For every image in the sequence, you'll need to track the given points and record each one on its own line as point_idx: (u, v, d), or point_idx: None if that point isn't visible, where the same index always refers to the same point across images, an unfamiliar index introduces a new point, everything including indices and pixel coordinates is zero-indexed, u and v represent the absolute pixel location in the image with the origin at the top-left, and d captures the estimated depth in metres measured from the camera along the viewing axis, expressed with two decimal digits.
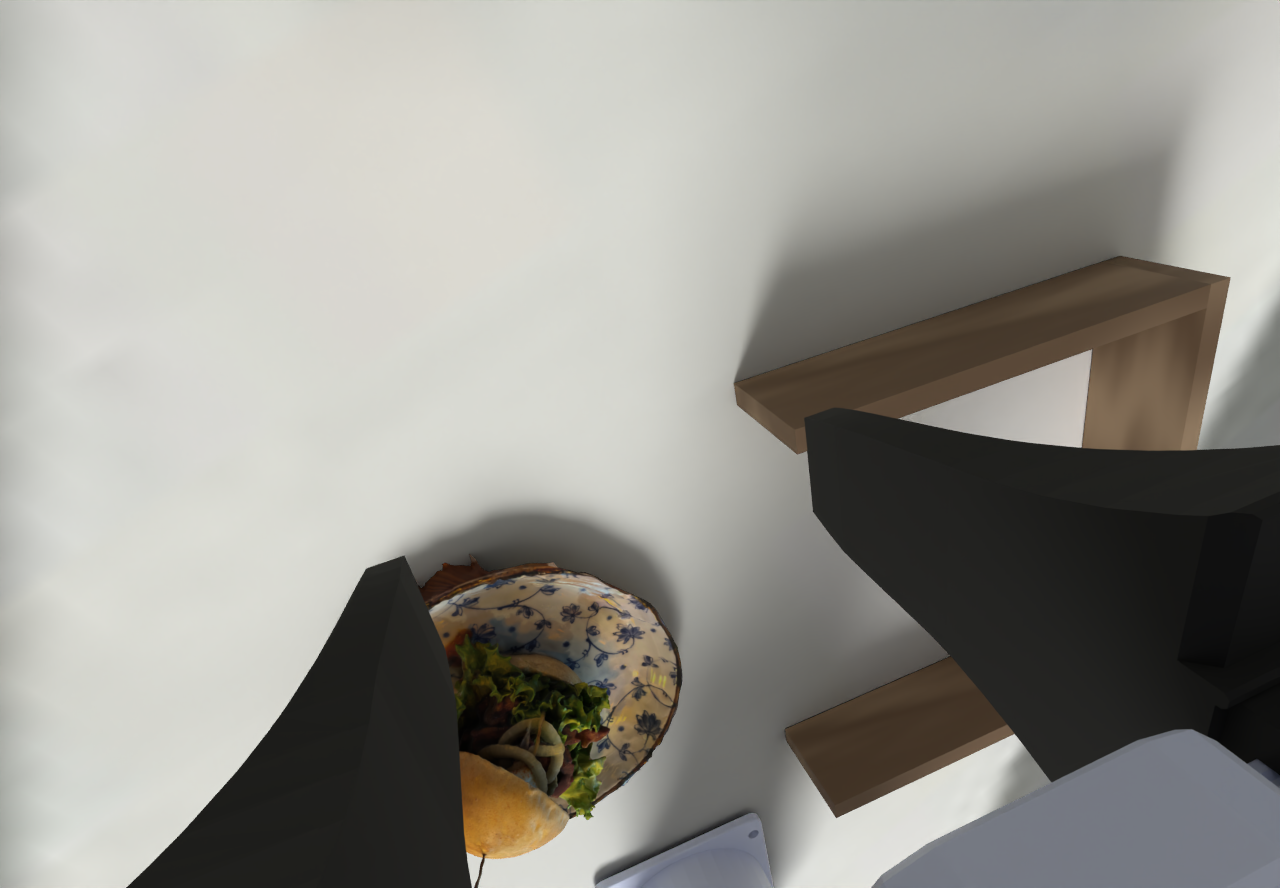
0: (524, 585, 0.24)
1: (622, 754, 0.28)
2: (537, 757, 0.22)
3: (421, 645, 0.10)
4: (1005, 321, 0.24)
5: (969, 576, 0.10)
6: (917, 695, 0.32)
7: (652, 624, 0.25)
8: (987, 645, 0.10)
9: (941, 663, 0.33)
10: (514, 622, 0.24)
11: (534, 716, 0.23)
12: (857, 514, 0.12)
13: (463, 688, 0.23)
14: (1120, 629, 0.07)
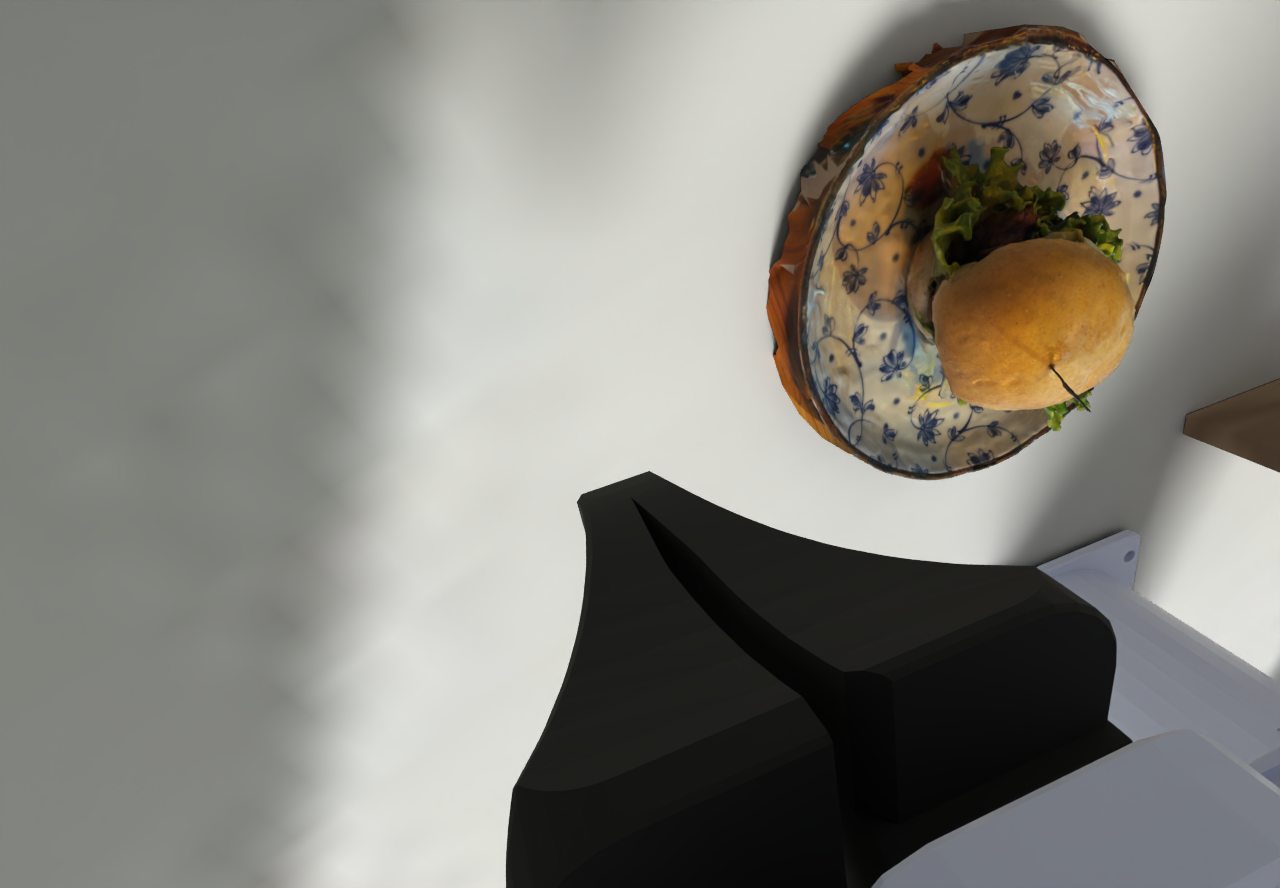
0: (1019, 91, 0.18)
1: None
2: None
3: None
4: None
5: None
6: None
7: (1142, 180, 0.20)
8: None
9: None
10: None
11: (1061, 233, 0.17)
12: None
13: (970, 195, 0.17)
14: None
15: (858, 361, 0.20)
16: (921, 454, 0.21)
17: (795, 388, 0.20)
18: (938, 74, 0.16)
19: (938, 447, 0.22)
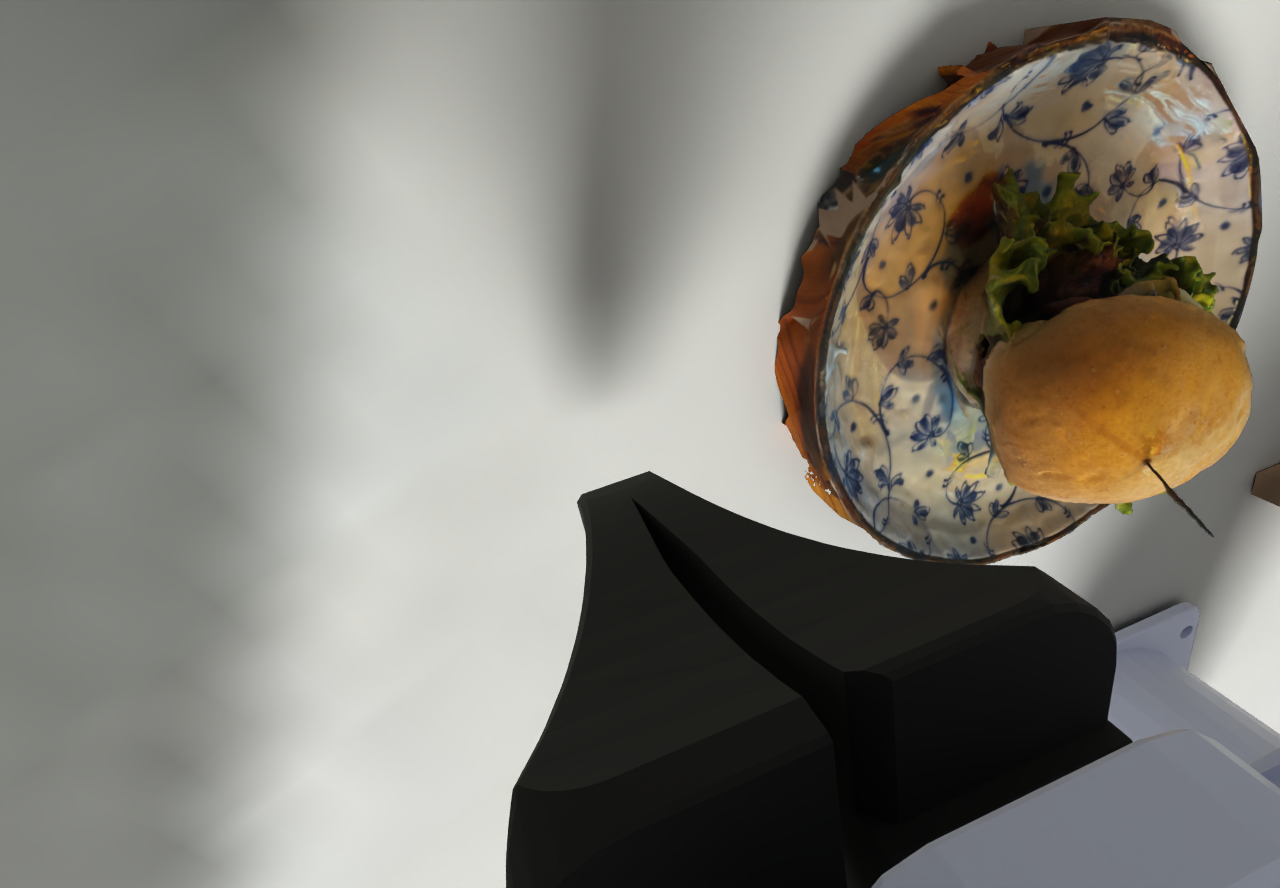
0: (1090, 101, 0.15)
1: None
2: None
3: None
4: None
5: None
6: None
7: (1233, 209, 0.16)
8: None
9: None
10: (1054, 178, 0.15)
11: (1147, 282, 0.14)
12: None
13: (1034, 233, 0.14)
14: None
15: (885, 429, 0.16)
16: (958, 535, 0.18)
17: None
18: (997, 81, 0.13)
19: (978, 525, 0.18)
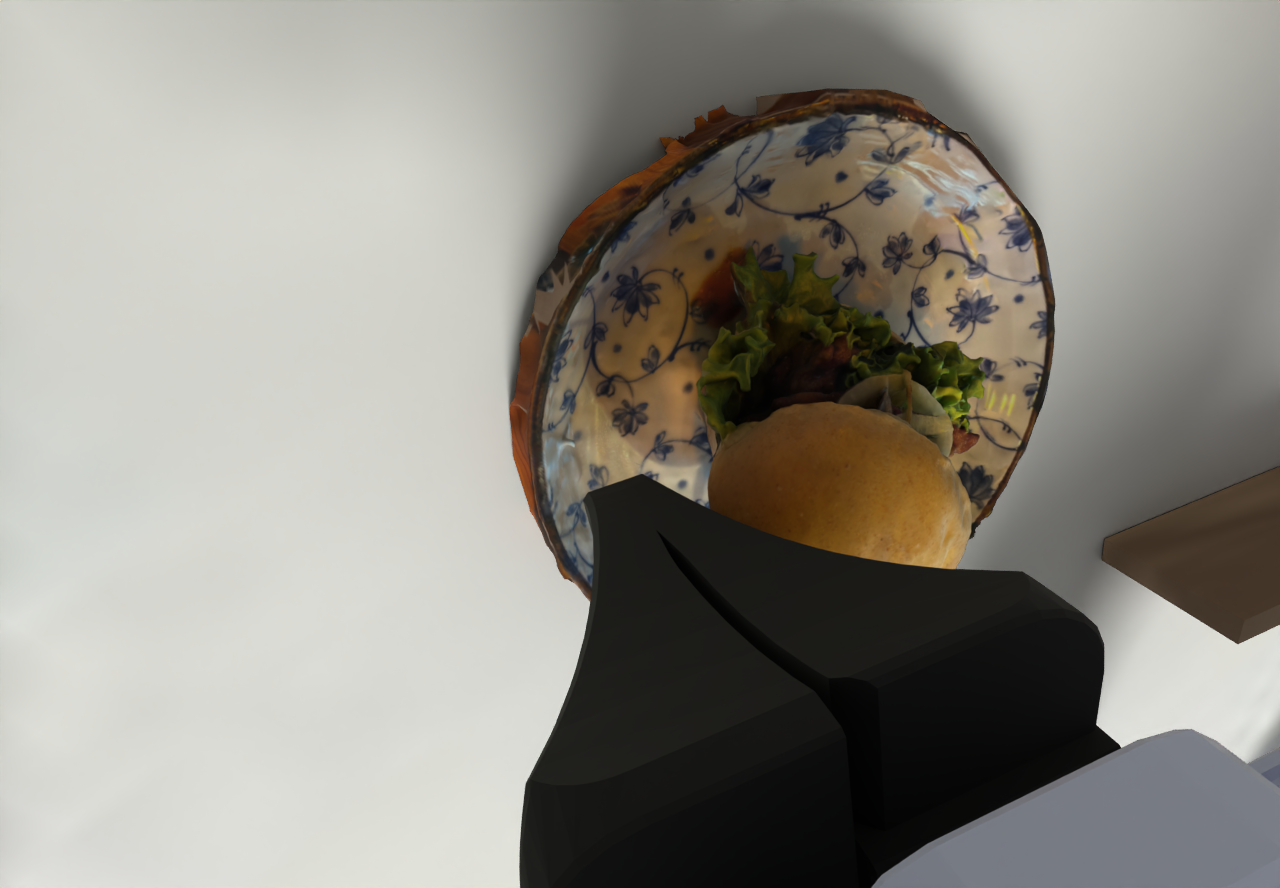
0: (844, 172, 0.14)
1: None
2: None
3: None
4: None
5: None
6: None
7: (1024, 282, 0.15)
8: None
9: None
10: (814, 252, 0.14)
11: (885, 376, 0.12)
12: None
13: (760, 321, 0.12)
14: None
15: None
16: None
17: None
18: (702, 159, 0.12)
19: None
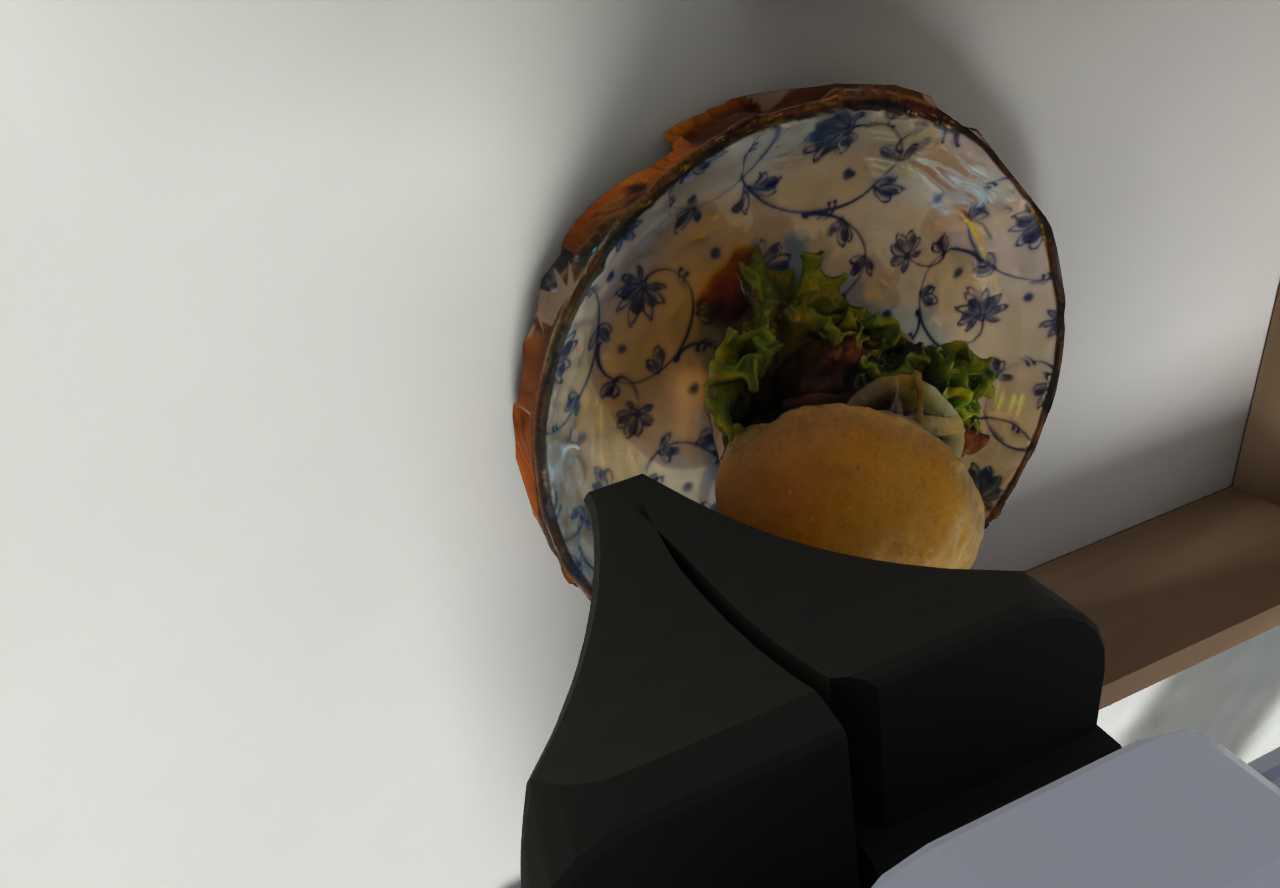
0: (852, 169, 0.13)
1: None
2: None
3: None
4: None
5: None
6: None
7: (1033, 281, 0.15)
8: None
9: (1050, 565, 0.21)
10: (822, 250, 0.14)
11: (896, 375, 0.12)
12: None
13: (768, 321, 0.12)
14: None
15: None
16: None
17: None
18: (709, 156, 0.11)
19: None
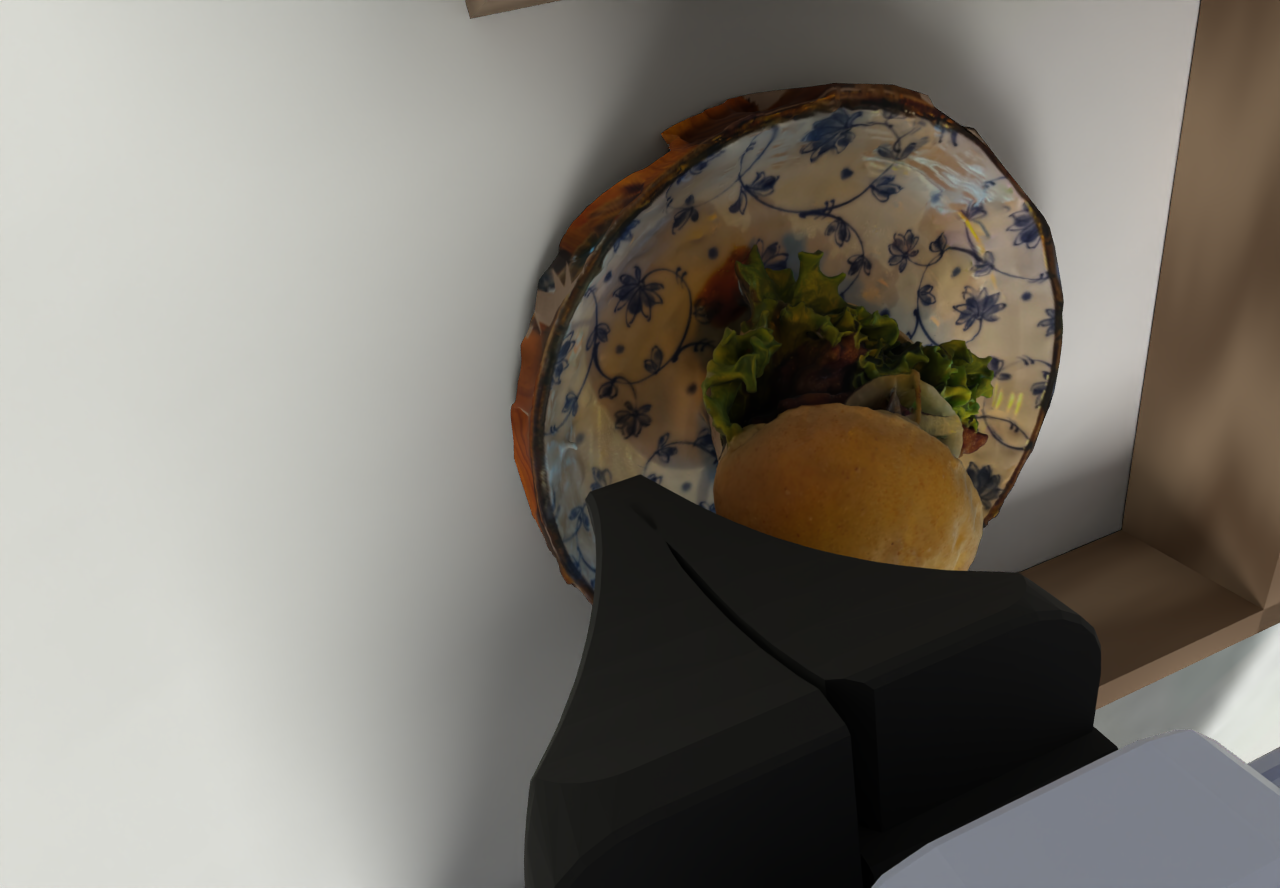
0: (850, 168, 0.13)
1: None
2: None
3: None
4: None
5: None
6: None
7: (1031, 280, 0.15)
8: None
9: None
10: (819, 250, 0.14)
11: (894, 375, 0.12)
12: None
13: (766, 321, 0.12)
14: None
15: None
16: None
17: None
18: (707, 156, 0.11)
19: None
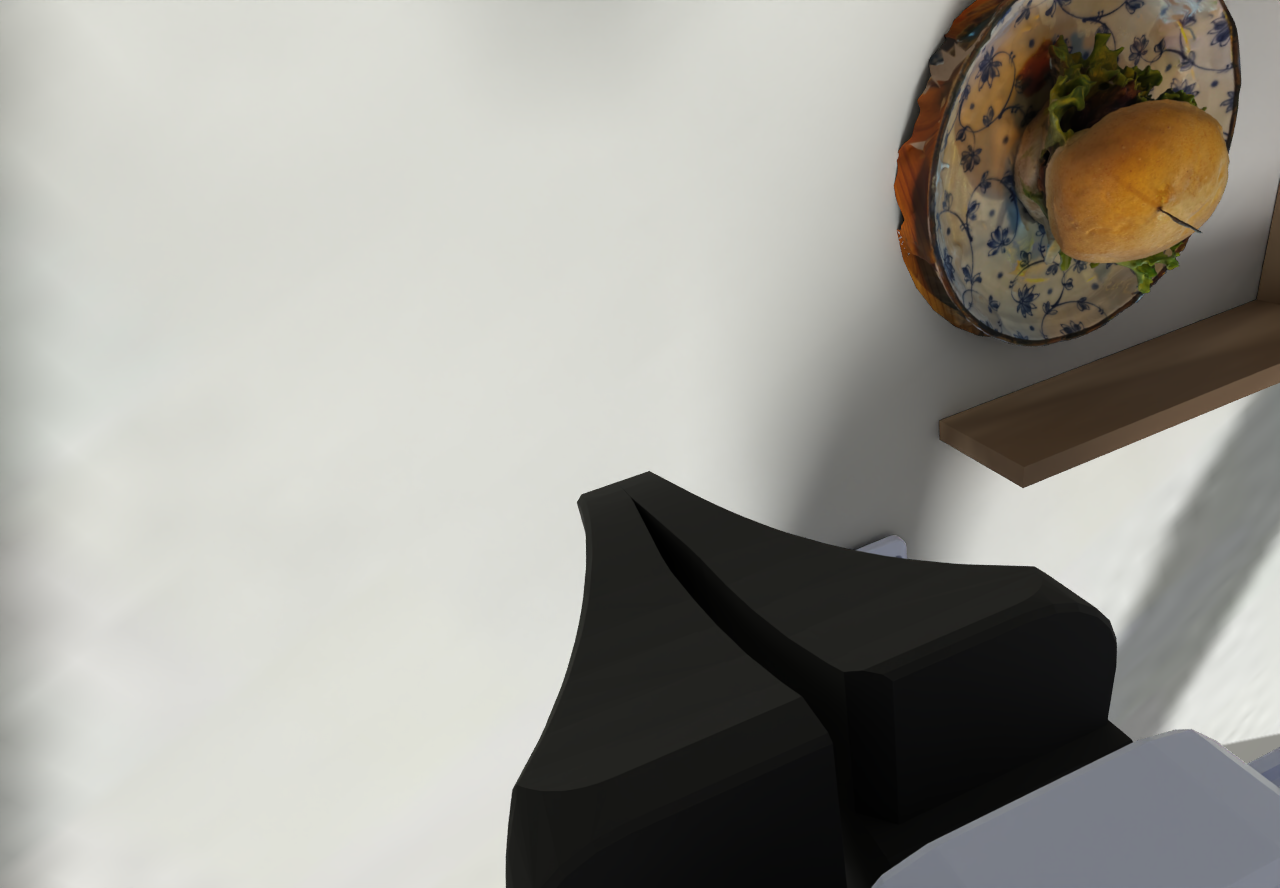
0: None
1: None
2: None
3: None
4: None
5: None
6: (1097, 379, 0.26)
7: (1219, 70, 0.23)
8: None
9: (1118, 354, 0.28)
10: (1090, 46, 0.22)
11: None
12: None
13: (1079, 74, 0.20)
14: None
15: (970, 236, 0.23)
16: (1021, 323, 0.24)
17: (913, 262, 0.23)
18: None
19: (1035, 319, 0.25)
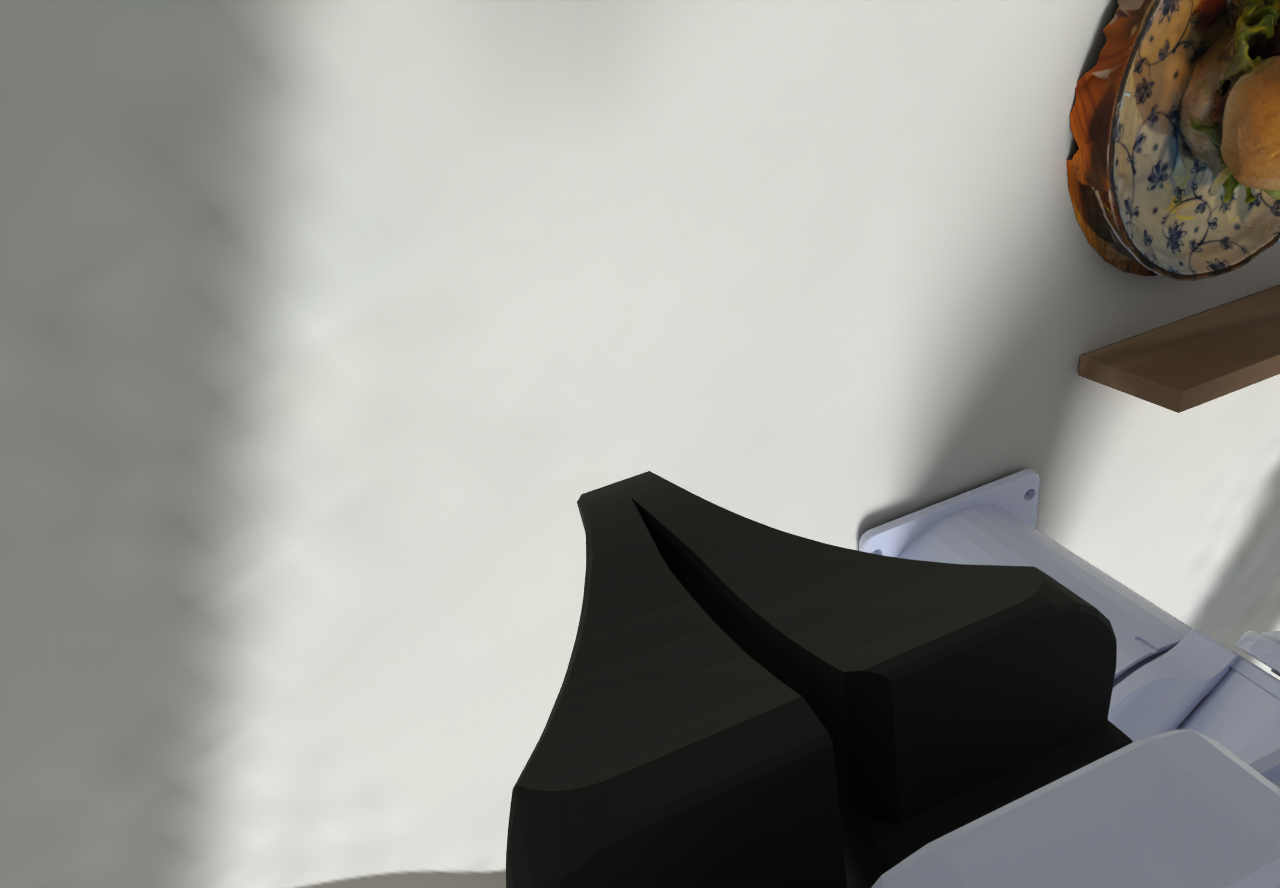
0: None
1: (1275, 210, 0.26)
2: None
3: None
4: None
5: None
6: (1232, 319, 0.27)
7: None
8: None
9: (1245, 299, 0.29)
10: None
11: None
12: None
13: (1263, 6, 0.21)
14: None
15: (1133, 168, 0.24)
16: (1171, 258, 0.25)
17: (1077, 193, 0.24)
18: None
19: (1183, 255, 0.26)
